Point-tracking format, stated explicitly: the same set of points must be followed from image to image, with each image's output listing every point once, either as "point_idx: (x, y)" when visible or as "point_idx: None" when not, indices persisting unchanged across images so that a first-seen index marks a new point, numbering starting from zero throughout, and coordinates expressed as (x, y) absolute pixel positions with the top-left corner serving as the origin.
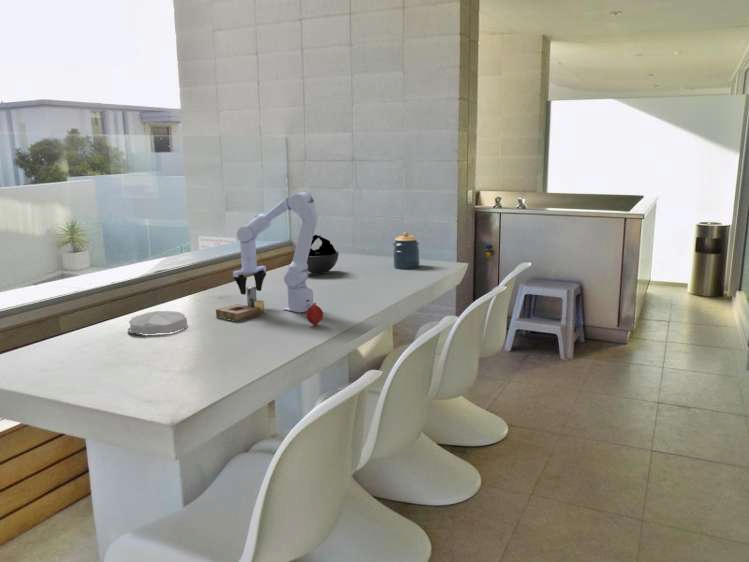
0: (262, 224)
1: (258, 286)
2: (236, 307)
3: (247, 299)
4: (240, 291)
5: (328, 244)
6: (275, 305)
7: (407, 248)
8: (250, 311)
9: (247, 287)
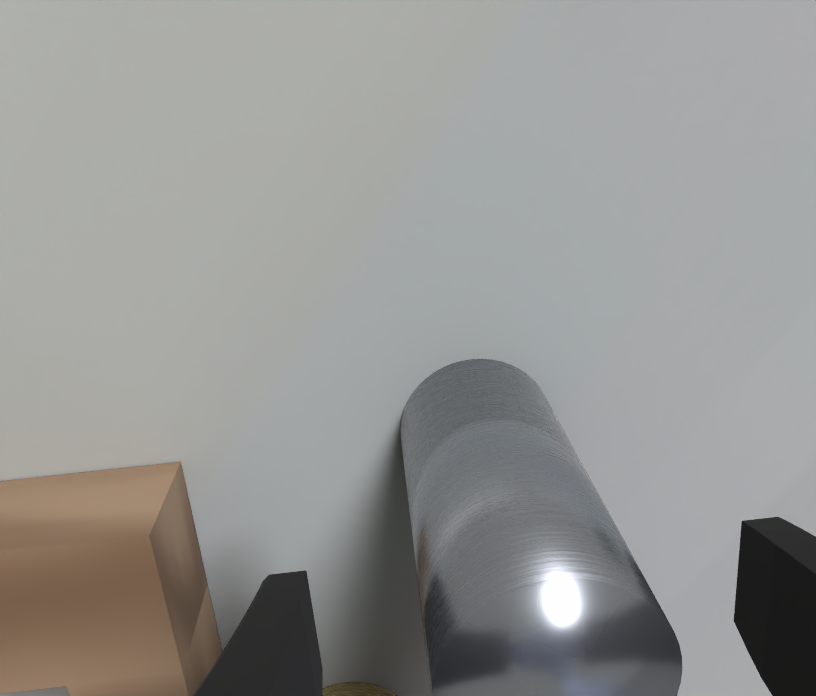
0: None
1: (793, 656)
2: (31, 684)
3: (414, 498)
4: (250, 615)
5: None
6: None
7: None
8: None
9: (517, 602)
